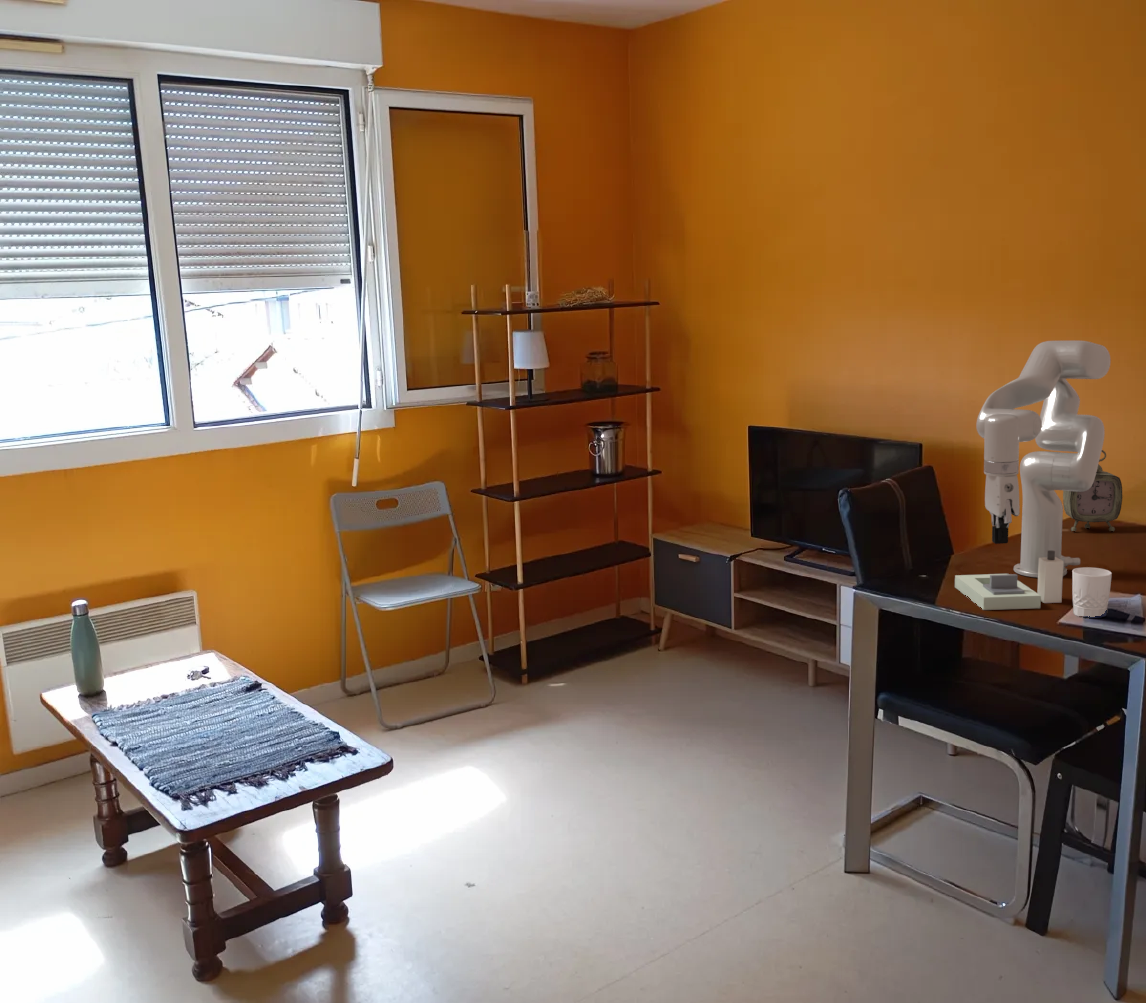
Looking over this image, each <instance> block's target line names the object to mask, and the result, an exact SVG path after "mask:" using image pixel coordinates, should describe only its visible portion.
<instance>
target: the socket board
mask: <svg viewBox="0 0 1146 1003" xmlns="http://www.w3.org/2000/svg"><path fill="white" fill-rule="evenodd" d="M1007 574H1008V573H988V574H961V575H959V574H958V575H957V574H956V575H954V588H955V589H956V590H958V591H960V593H961V594H963V595H964V596H965V595H966V596H965V597H967V596H968V597H969V598H970V599H971V600H970V599H969V598H968V597H967V598H968V599H969V600H970V601H972V602H973V603H974V604H975V603H976V604H977V605H976V604H975V605H976V606H977V607H979V608H980V607H981V608H982V609H981V608H980V609H981V610H982V611H992V610H993V611H994V610H995V611H996V610H1024V609H1027V610H1028V609H1041V602H1042V601H1041V595H1039V594H1038V593H1037V592H1036V591H1035V590H1033V589H1031V588H1030V587H1029V586H1028V585H1026V584H1024V583H1023V582H1021V581H1020V580H1019V579H1017V586H1018V587H1019V588H1021V589H1022V590H1024V594H992V593H991V592H990V591H988V590H987V589H986V588H984V587H983V584H990V575H1007Z"/></svg>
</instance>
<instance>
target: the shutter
mask: <svg viewBox="0 0 1146 1003" xmlns="http://www.w3.org/2000/svg"><path fill="white" fill-rule="evenodd" d="M1006 574H1007V575H990V584H983V587H984V588H986V589H987V590H988V591H990V592H991V593H992V594H1024V590H1022V589H1021V588H1019V587H1018V586H1017V580H1018V576H1019V574H1017V573H1013V574H1012V573H1010V574H1009V573H1006Z"/></svg>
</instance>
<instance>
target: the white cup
mask: <svg viewBox="0 0 1146 1003" xmlns="http://www.w3.org/2000/svg"><path fill="white" fill-rule="evenodd" d="M1071 572H1072V576H1071V577H1072V583H1071V585H1072V587H1071V588H1072V591H1071V592H1072V595H1071V596H1072V606H1073V607H1072V609H1073V610H1072V613H1073V615H1075V616H1076V617H1079V616H1088V617H1089V616H1090V617H1095V616H1101V615H1102V614H1104V613H1105V611H1106V610H1107V611H1108V604H1109V599H1110V593H1111V586H1112V585H1111V584H1112V583H1111V582H1112V574H1113V573H1112V572H1111V570H1108V569H1105V568H1101V567H1100V568H1099V567H1090V566H1089V567H1088V566H1086V567H1076V568H1073V569H1072V571H1071Z"/></svg>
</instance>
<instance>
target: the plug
mask: <svg viewBox="0 0 1146 1003" xmlns="http://www.w3.org/2000/svg"><path fill="white" fill-rule="evenodd" d="M1063 578H1064V576H1063V561H1062V560H1060V559H1059V558H1057V557H1055V551H1053V550H1048V552H1047V557H1042V558H1039V565H1038V577H1037V592H1036V593H1038V594H1039V595H1041V602H1042V603H1044V604H1052V603H1053V604H1054V603H1059V604H1060V603H1062V600H1063V599H1062V598H1063V597H1062V596H1063Z"/></svg>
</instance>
